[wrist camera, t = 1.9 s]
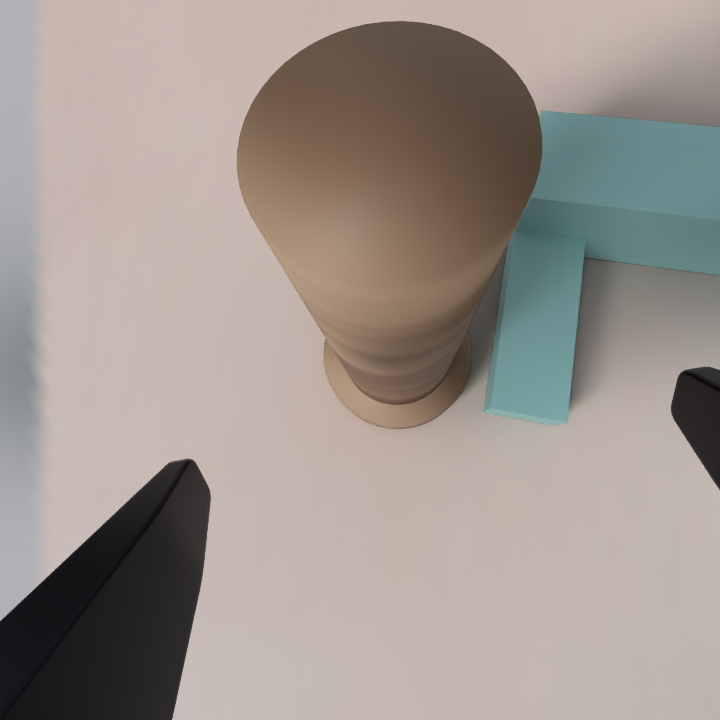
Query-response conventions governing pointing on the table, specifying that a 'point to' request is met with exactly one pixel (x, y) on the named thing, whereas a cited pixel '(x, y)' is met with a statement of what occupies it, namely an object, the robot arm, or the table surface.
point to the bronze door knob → (391, 201)
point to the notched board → (595, 241)
